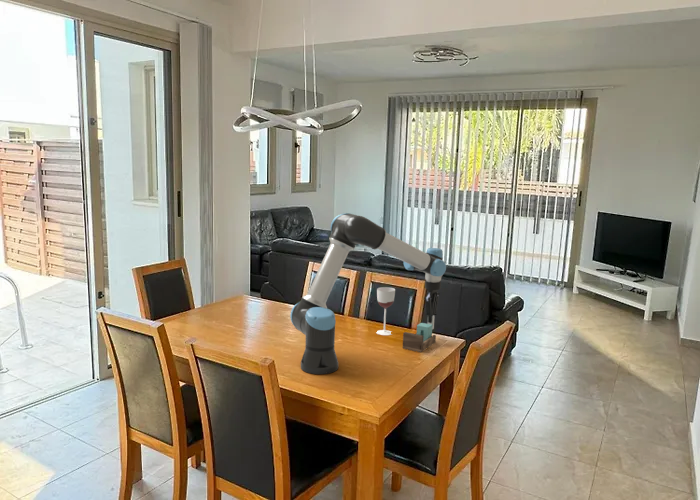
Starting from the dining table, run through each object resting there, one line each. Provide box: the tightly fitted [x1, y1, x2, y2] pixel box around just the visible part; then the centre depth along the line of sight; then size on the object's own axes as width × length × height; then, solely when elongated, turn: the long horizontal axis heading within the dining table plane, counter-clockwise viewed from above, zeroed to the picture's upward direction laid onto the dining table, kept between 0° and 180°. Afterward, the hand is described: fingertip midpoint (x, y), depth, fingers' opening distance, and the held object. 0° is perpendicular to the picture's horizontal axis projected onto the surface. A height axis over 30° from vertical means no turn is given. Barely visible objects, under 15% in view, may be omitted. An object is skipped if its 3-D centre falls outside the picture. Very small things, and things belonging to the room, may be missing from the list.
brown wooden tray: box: [402, 331, 437, 353], centre depth 235 cm, size 17×9×7 cm, turn 148°
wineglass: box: [375, 286, 396, 336], centre depth 251 cm, size 9×10×22 cm
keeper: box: [416, 322, 433, 341], centre depth 239 cm, size 5×6×7 cm
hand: (430, 328), depth 246 cm, fingers closed
